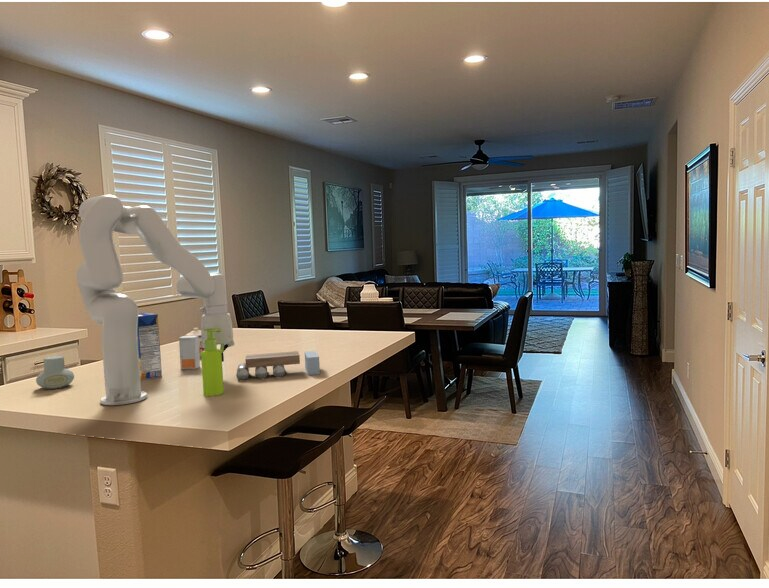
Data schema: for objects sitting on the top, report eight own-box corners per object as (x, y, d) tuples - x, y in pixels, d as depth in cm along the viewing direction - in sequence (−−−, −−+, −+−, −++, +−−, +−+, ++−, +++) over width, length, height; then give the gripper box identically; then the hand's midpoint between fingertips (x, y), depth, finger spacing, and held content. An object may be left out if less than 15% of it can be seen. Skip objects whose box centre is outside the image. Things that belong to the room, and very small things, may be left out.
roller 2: (271, 375, 188) (282, 379, 189) (276, 364, 188) (287, 369, 189) (270, 368, 198) (280, 372, 199) (275, 358, 199) (285, 362, 200)
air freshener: (36, 392, 179) (34, 361, 179) (36, 387, 186) (34, 357, 186) (75, 386, 185) (73, 357, 184) (74, 382, 192) (71, 353, 191)
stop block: (319, 374, 191) (319, 356, 190) (308, 375, 190) (307, 357, 190) (316, 367, 203) (315, 350, 202) (305, 368, 202) (304, 351, 201)
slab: (299, 363, 191) (299, 355, 191) (245, 368, 187) (245, 359, 187) (298, 359, 199) (297, 351, 199) (246, 363, 195) (245, 355, 195)
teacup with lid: (194, 358, 229) (192, 330, 228) (182, 356, 235) (180, 328, 234) (219, 353, 239) (217, 326, 238) (206, 351, 244) (205, 325, 243)
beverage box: (142, 379, 192) (137, 316, 190) (131, 375, 200) (127, 314, 199) (162, 376, 197) (157, 314, 195) (150, 371, 205) (146, 312, 203)
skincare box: (180, 369, 207) (178, 337, 206) (184, 367, 212) (182, 335, 211) (196, 369, 207) (194, 337, 206) (200, 366, 211) (198, 335, 210)
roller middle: (253, 376, 186) (263, 381, 187) (258, 365, 187) (269, 370, 187) (253, 369, 197) (263, 374, 198) (258, 359, 197) (268, 364, 198)
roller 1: (234, 378, 185) (245, 382, 186) (239, 367, 185) (250, 371, 186) (235, 371, 196) (246, 375, 197) (240, 361, 196) (251, 365, 197)
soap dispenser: (215, 397, 165) (211, 330, 163) (199, 394, 168) (195, 329, 167) (230, 392, 170) (226, 327, 168) (214, 390, 173) (210, 326, 172)
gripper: (191, 313, 182) (195, 368, 184) (238, 310, 186) (241, 364, 187) (193, 310, 190) (197, 363, 191) (239, 308, 193) (242, 360, 195)
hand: (219, 363), depth 189 cm, fingers closed
